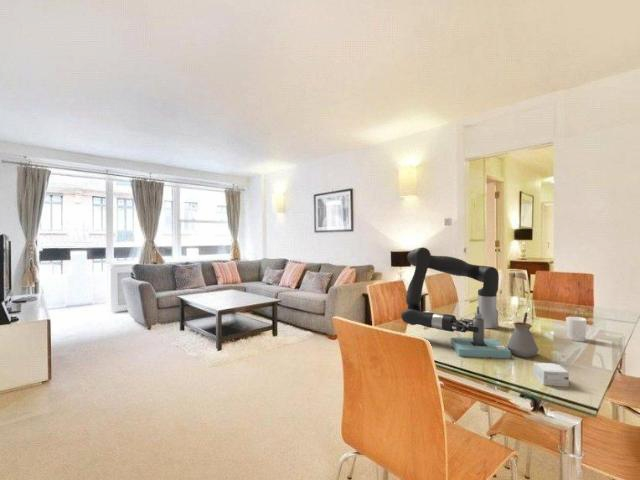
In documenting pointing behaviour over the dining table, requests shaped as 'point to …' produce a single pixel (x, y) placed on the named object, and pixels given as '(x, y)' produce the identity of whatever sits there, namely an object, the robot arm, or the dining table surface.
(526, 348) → the coffee pot
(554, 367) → the small box
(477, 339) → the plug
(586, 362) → the dining table surface
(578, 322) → the white cup
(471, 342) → the socket plate
